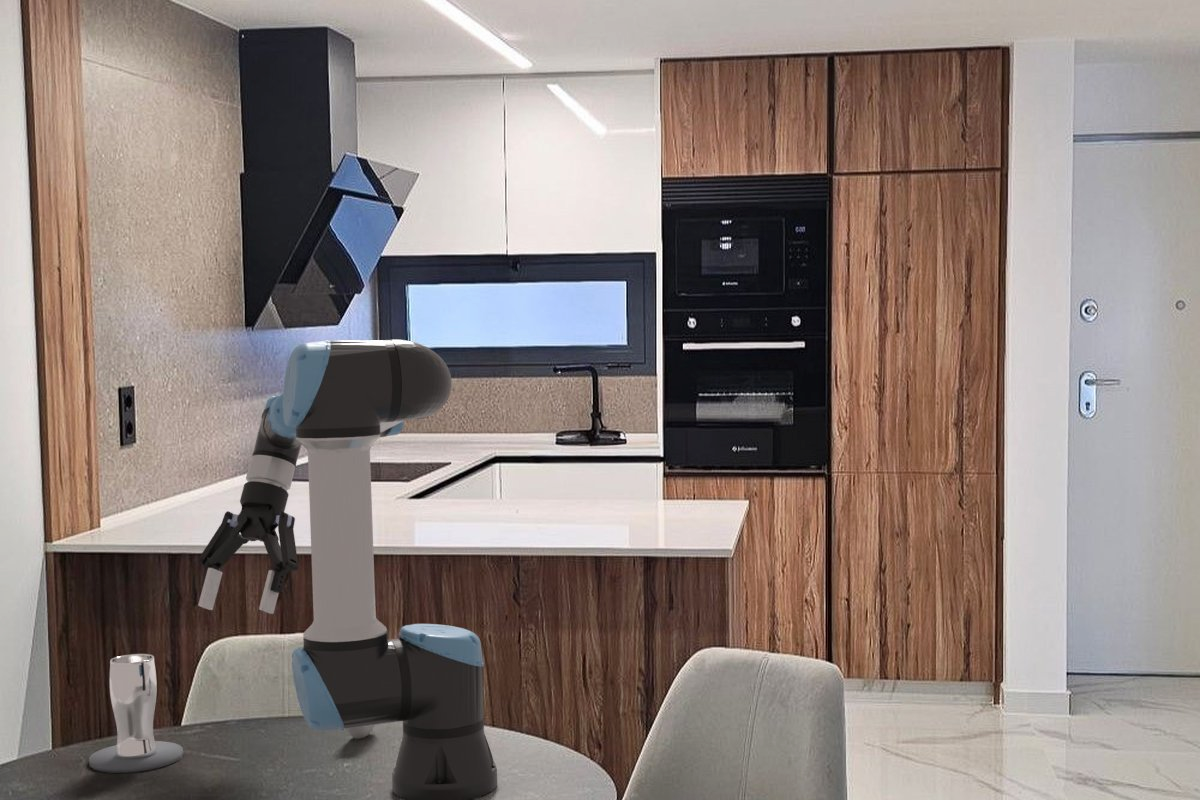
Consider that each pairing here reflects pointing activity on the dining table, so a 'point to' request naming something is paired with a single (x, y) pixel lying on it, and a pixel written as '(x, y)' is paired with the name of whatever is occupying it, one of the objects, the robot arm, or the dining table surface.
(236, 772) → the dining table surface
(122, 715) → the beer glass
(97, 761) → the mat
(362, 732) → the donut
